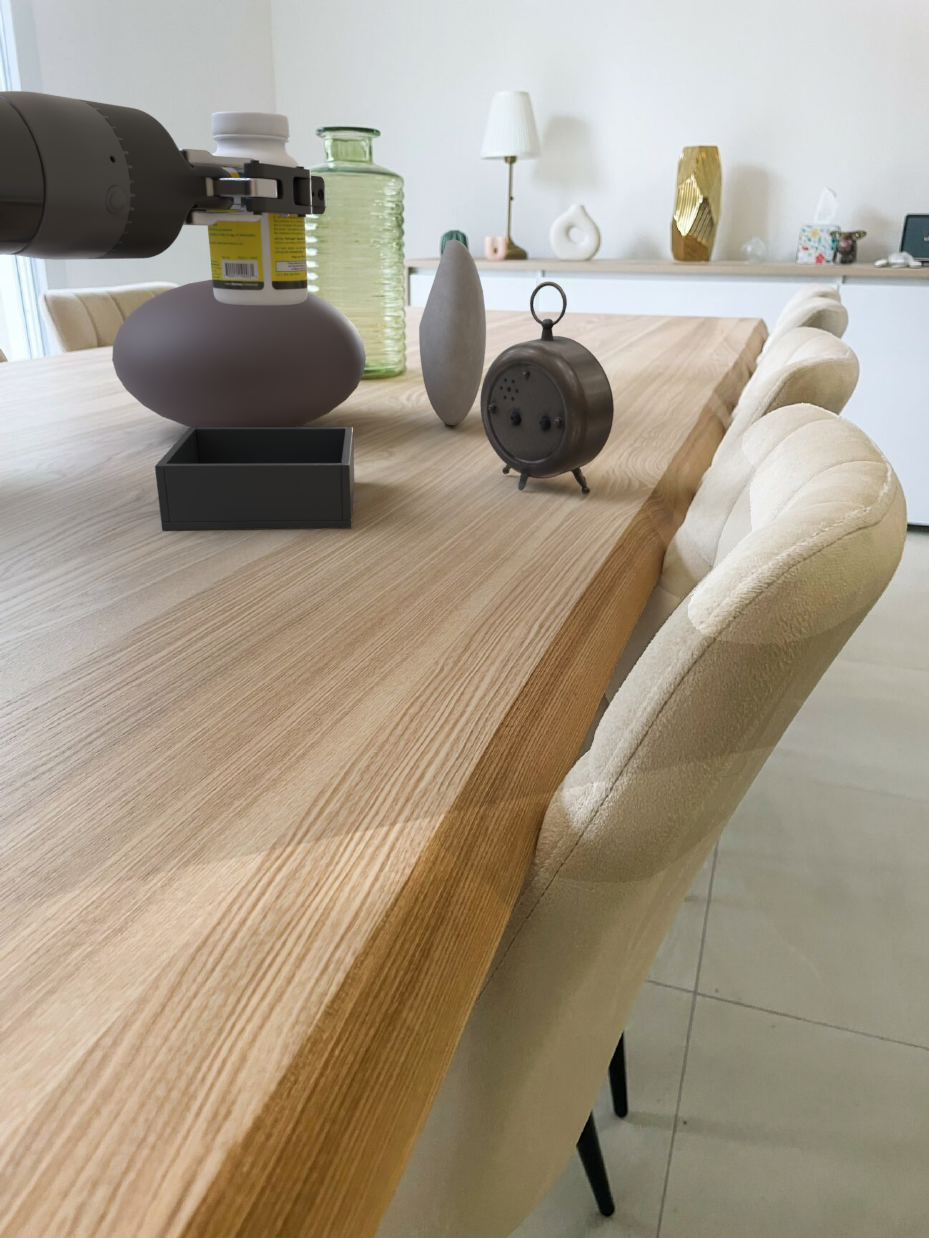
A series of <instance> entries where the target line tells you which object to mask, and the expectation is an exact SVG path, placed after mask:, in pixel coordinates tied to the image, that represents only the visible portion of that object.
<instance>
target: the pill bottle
mask: <svg viewBox="0 0 929 1238" xmlns="http://www.w3.org/2000/svg"><path fill="white" fill-rule="evenodd" d="M210 115H211V119H210V120H211V134H212V136H213V137H212V139H213V140H214V141H215V142H216V143H217V144H216V145H217V146H216V150H215V152H213V153H211V154H212V155H213V156H224V157H239V158H252V159H254V160H259V163H264V164H272V165H279V166H286V167H294V168H296V166H301V165H300V163H299V162H298V160H297V159H295V158H294V157H293V156H291V155H290V154H289V153H288V152H287V150H286V148H287V147H286V144H289V142H290V140H289V138H290V136H291V135H290V126H289V125H290V124H289V118H288V116H287V115H285V114H282V113H281V114H280V113H273V112H261V111H245V110H244V111H241V110H240V111H239V110H238V111H237V110H235V111H234V110H230V111H229V110H227V111H226V110H225V111H224V110H223V111H216V112H213V113H211V114H210ZM221 168H223V169H225V170H226V171H228V172H229V173H230V174H231V176H232V178H239V174H238V172H237V171H236V170H235V169H233V168H224V167H221ZM240 207H241V197H234V204H233V206H232V207H231V208H230V209H228V210H206V211H209V212H238V211H239V209H240ZM280 215H281V214H263V215H262V217H261V219H260V220H259V221H258V222H224V221H218V222H216V223H215V224H214V225H212V226H207V233H208V246H209V256H210V257H209V258H210V259H209V260H210V271H211V280H212V285H213V292H214V296H215V298H216V300H218V301H219V302H221V303H225V304H234V305H292V304H299V303H302V302H304V301H305V300H306V299H307V294H308V292H309V291H308V286H309V285H308V266H307V244H306V242H307V241H306V240H307V239H306V221H305V220H306V219H305V218H306V217H298V214H295V215H289V217H281V216H280Z"/></svg>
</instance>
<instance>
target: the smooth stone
mask: <svg viewBox="0 0 929 1238" xmlns="http://www.w3.org/2000/svg"><path fill="white" fill-rule="evenodd" d="M111 355H112V356H111V357H112V358H111V359H112V364H113V368H114V371H115V374H116V377H117V378H118V380H119V381H120V383H121V384H122V386H123V387H124V389H125V390H126V391H127V392H128V393H129V394H130V395H131V396H132V397H133V398H134V399H135V400H137V401H138V402H139V403H140V404H141V405H142V406H143V407H145V408H147V409H148V410H150V411H152V412H154V413H155V414H157V415H159V416H160V417H162V418H165V419H167V420H170V421H173V422H175V423H177V424H180V425H183V426H186V427H189V428H190V427H196V428H197V427H300V426H302V425H305V424H309V423H311V422H312V421H315V420H317V419H319V418H321V417H323V416H326V415H328V414H329V413H330V412H332V411H333V410H335V409H336V408H338V406H340V405H342V404H343V403H344V402H345V401H346V400H348V399H349V397H350V396H351V395H352V394H353V393H354V392H355V390H356V389H357V388H358V387H359V384H360V383H361V380H362V378H363V376H364V373H365V368H366V360H367V354H366V349H365V343H364V340H363V338H362V336H361V334H360V332H359V330H358V328H357V326H356V325H354V323H353V322H352V321H351V320H350V319H349V318H348V316H347V315H346V314H345V313H344V312H343V311H341V310H340V309H338V308H337V307H336V306H334V305H333V304H331V302H329V301H327V300H325V299H323V298H321V297H319V296H317V295H315V294H313V293H311V292H310V291H308V294H307V299H306V300H305V301H304V302H302V303H299V304H292V305H234V304H225V303H221V302H219V301H218V300H216V298H215V296H214V292H213V285H212V279H207V280H200V281H196V282H195V281H194V282H189V283H187V284H186V283H185V284H184V285H179V286H177V287H173V288H170V289H168V290H165V291H163V292H161V293H159V294H158V295H155V296H153V297H151V298H149V299H148V300H146V301H144V302H143V303H141V305H139V306H138V307H136V308H135V309H134V310H133V311H131V312H130V313H129V315H128V316H127V317H126V319H125V320H124V321H123V323H121V325H120V326H119V328H118V331H117V333H116V336H115V338H114V341H113V344H112V354H111Z"/></svg>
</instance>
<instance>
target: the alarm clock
mask: <svg viewBox="0 0 929 1238" xmlns="http://www.w3.org/2000/svg"><path fill="white" fill-rule="evenodd" d="M544 287H553V288H554V289H556V291H558V292H559V294H560V296H561V299H562V309H561V311H560V315H559V316H558V318H557V319H556V320H554V321H553V319H551V318H545V319H543V320H541V319H540V318H539V317H538V316H537V314H536V311H535V307H534V304H535V303H534V301H535V298H536V295H537V294H538V293H539V292H540V290H541V289H543V288H544ZM567 299H568V298H567V294H566V292H565V291H564V289H563V288H562V286H560V284H558V283H557V282H554V281H543V282H541V283H540V284H538V285H537V286H536V287H535V289H534V290H533V291H532V292H531V296H530V298H529V308H530V313H531V315H532V317H533V319H534V320H535V322H536V323H537V324H540V325H541V328H542V331H541V336H540V337H539V338H537V339H531V340H527V341H522V342H519V343H516V344H513V345H511V346H509V347H507V348H506V349H504V350H503V351H502V352H500V353H499V354H498V355H497V356H496V358H494V360H493V361H492V363H491V364H490V366H489V368H488V369H487V371H486V374H485V376H484V378H483V381H482V386H481V391H480V402H479V404H480V416H481V421H482V426H483V429H484V432H485V436H486V438H487V440H488V443H489V444H490V446H491V448H492V449H493V450H494V452H495V453H496V455H497V456H498V457H499V459H500V460H501V461H502V462H503V463H505V466H503V468H502V472H501V473H502V474H503V475H508V474H510V471H511V469H512V471H514V472H517V473H518V474H520V476H519V481H518V484H517V489H518V490H519V491H524V489H525V487H526V485H527V483H528V479H529V478H531V479H538V480H539V479H544V480H545V479H552V478H554V477H555V478H556V477H557V476H561V475H564V474H566V473H570V472H571V474H572V475H573V477H574V479H575V481H576V483H578V485H579V486H580V487H581V493H582V495H583V494H584V495H588V494H589V493H590V492H591V488H590V487H588V484H587V478H586V477H585V476H584V474H583V472H582V469H581V468H582V467H584V466H587V465H588V464H590V463H591V462H593V461H594V460H595V459H596V458H597V457H598V456H599V455H600V453H601V452H602V451H603V449H604V448H605V446H606V444H607V442H608V439H609V437H610V435H611V432H612V427H613V421H614V412H615V410H614V409H615V408H614V406H615V405H614V396H613V391H612V386H611V383H610V381H609V378H608V376H607V373H606V372H605V369H604V368H603V366H602V364H601V363H600V361H599V360H598V359H597V357H596V356H595V355H594V354H593V353H592V351H590V350H589V349H588V348H587V347H585V345H583V344H582V343H580V342H579V341H576V340H575V339H572V338H570V337H566V336H562V335H554V334H553V333H554V332H553V328H554V326H555V325H557V324H558V323H560V321H561V320H562V318H564V316H565V313H566V310H567V306H568V300H567Z"/></svg>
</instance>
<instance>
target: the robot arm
mask: <svg viewBox="0 0 929 1238" xmlns="http://www.w3.org/2000/svg"><path fill="white" fill-rule="evenodd" d="M212 154H213V153H211V152H210V151H208V150H206V149H205V150H204V149H194V148H193V149H192V148H179V147H178V145H177V143H176V141H175V140H174V138H173V137H172V135H171V134H170V132H169V131H168V130H167V128H166V127H164V125H163V124H162V123H161V122H160V121H159V120H157V119H156V118H155V117H154V116H152V115H151V114H150V113H148V112H146V111H144V110H141V109H139V108H136V107H129V106H122V105H116V104H111V103H104V102H97V101H92V100H86V99H80V98H73V97H67V96H62V95H61V96H60V95H56V94H55V95H54V94H49V93H43V92H35V91H25V90H6V91H5V90H4V91H0V255H7V256H8V255H9V256H18V257H25V258H31V259H37V260H52V261H54V260H56V261H61V260H64V261H65V260H123V259H124V260H126V259H127V260H128V259H135V260H136V259H150V258H154V257H157V256H159V255H161V254H162V253H164V252H166V251H167V250H168V249H169V248H170V247H171V246H172V245H173V244H174V243H175V241H176V240H177V239H178V237H179V235H180V233H181V231H182V229H183V227H184V226H205V227H206V226H207V227H208V226H212V225H214V224H215V223H216V222H218V221H224V222H258V221H259V220H260V219H261V217H262V215H263V214H281V215H280V216H281V217H289V215H295V214H298V217H305V218H307V216H310V215H311V216H312V215H323V214H324V213H325V211H326V208H327V183H326V181H325V179H324V178H323V177H322V176H320V175H311V174H312V173H311V169H309V168H308V169H307V168H305V166H301V165H300V166H296V168H294V167H286V166H279V165H272V164H264V163H259V160H254V159H252V158H239V157H224V156H213V155H212ZM221 167H224V168H233V169H235V170H236V171H237V172H238V174H239V178H232V176H231V174H230V173H229V172H228V171H226V170H225V169H223V168H221ZM234 197H241V207H240V209H239V211H238V212H209V211H206V210H228V209H230V208H231V207H232V206H233V204H234Z"/></svg>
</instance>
